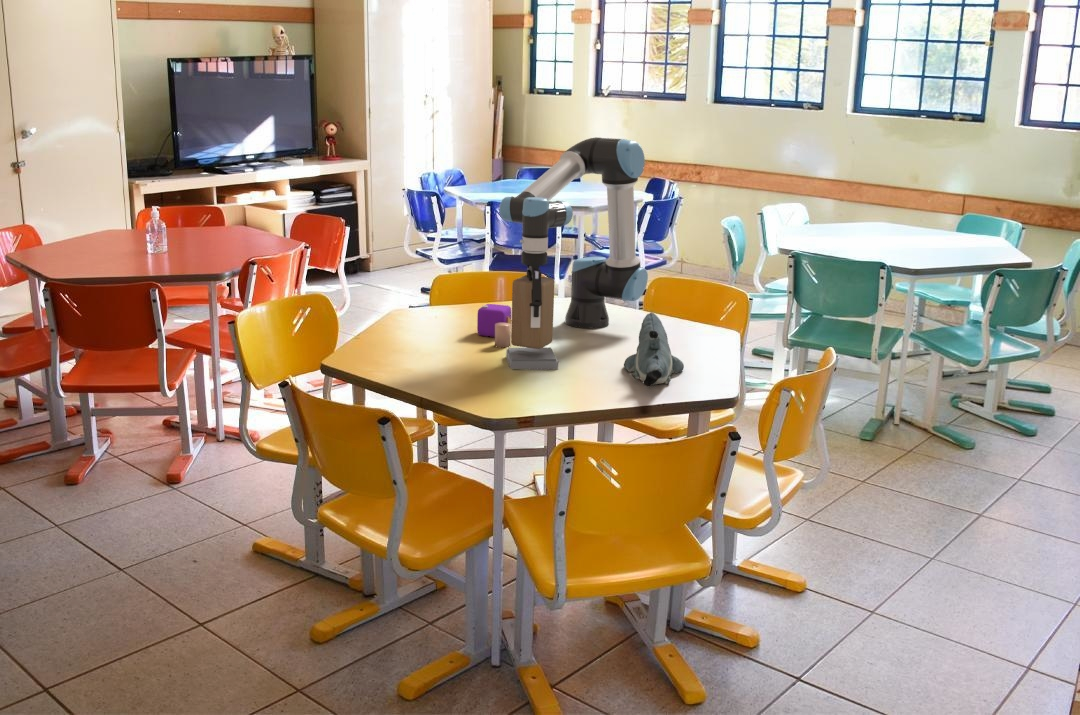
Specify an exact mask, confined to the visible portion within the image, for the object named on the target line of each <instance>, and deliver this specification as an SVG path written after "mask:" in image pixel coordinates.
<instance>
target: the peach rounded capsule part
mask: <svg viewBox="0 0 1080 715" xmlns="http://www.w3.org/2000/svg"><path fill="white" fill-rule="evenodd" d="M511 328H512V323H511V324H509V323H496V324H495V337H494V347H495V346H497V347H496V348H498V347H508V348H510V347H511V345H512V344H511ZM509 346H510V347H509Z"/></svg>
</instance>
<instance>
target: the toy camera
mask: <svg viewBox="0 0 1080 715" xmlns="http://www.w3.org/2000/svg"><path fill="white" fill-rule="evenodd" d="M476 316H477V320H476V322H477V323H476V324H477V326H476V328H477V334H478V335H479V336H481V337H488V336H490V337H492V338H495V324H496V323H509V324H511V325H512V306H510V305H504V304H495V303H494V304H493V303H486V304H484V305H482V306H481V307H480V308H478V309H477V315H476ZM490 337H489V338H490Z"/></svg>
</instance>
